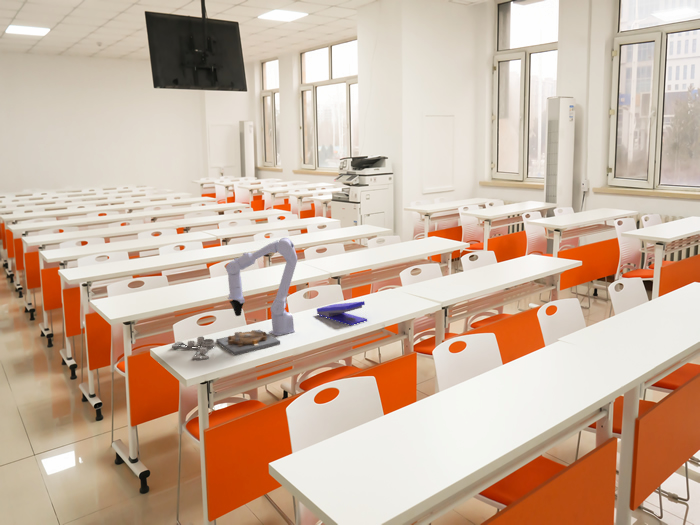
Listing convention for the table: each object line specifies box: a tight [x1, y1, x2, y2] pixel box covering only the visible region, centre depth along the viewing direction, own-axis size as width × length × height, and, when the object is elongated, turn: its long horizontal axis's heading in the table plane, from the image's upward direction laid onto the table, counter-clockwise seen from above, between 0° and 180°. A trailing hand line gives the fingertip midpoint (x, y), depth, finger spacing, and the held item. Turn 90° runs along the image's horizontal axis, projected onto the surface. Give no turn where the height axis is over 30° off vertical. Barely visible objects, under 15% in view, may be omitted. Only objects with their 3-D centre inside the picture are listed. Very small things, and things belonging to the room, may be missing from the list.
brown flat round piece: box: [227, 329, 267, 346], centre depth 247 cm, size 17×17×5 cm
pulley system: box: [171, 336, 216, 361], centre depth 242 cm, size 27×5×15 cm
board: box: [215, 329, 281, 356], centre depth 247 cm, size 21×22×2 cm
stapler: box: [316, 300, 368, 326], centre depth 278 cm, size 12×28×10 cm, turn 39°
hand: (238, 315), depth 259 cm, fingers closed
